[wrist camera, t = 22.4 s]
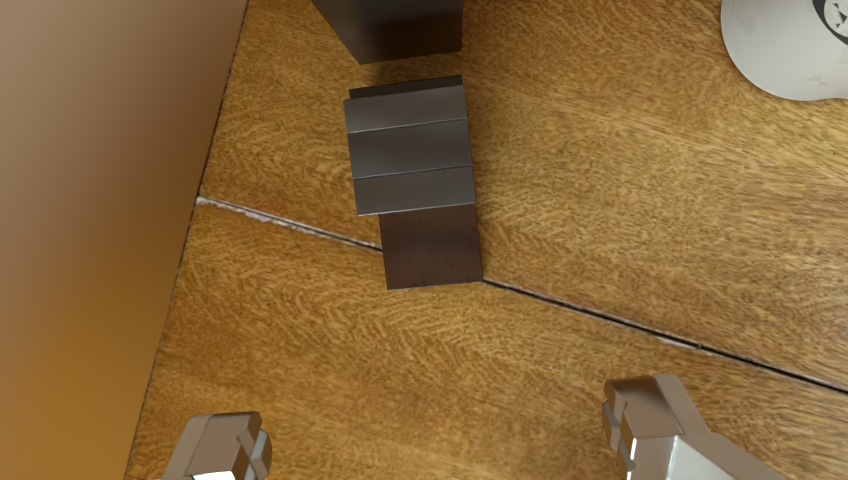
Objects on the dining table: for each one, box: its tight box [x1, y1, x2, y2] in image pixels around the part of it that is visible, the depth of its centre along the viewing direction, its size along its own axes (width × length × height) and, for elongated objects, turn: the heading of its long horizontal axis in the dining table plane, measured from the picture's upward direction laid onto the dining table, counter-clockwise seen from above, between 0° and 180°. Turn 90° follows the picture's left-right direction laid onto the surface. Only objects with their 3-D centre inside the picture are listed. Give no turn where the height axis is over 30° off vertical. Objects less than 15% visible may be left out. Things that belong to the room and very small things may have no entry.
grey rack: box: [343, 75, 483, 291], centre depth 40 cm, size 17×8×12 cm, turn 6°
